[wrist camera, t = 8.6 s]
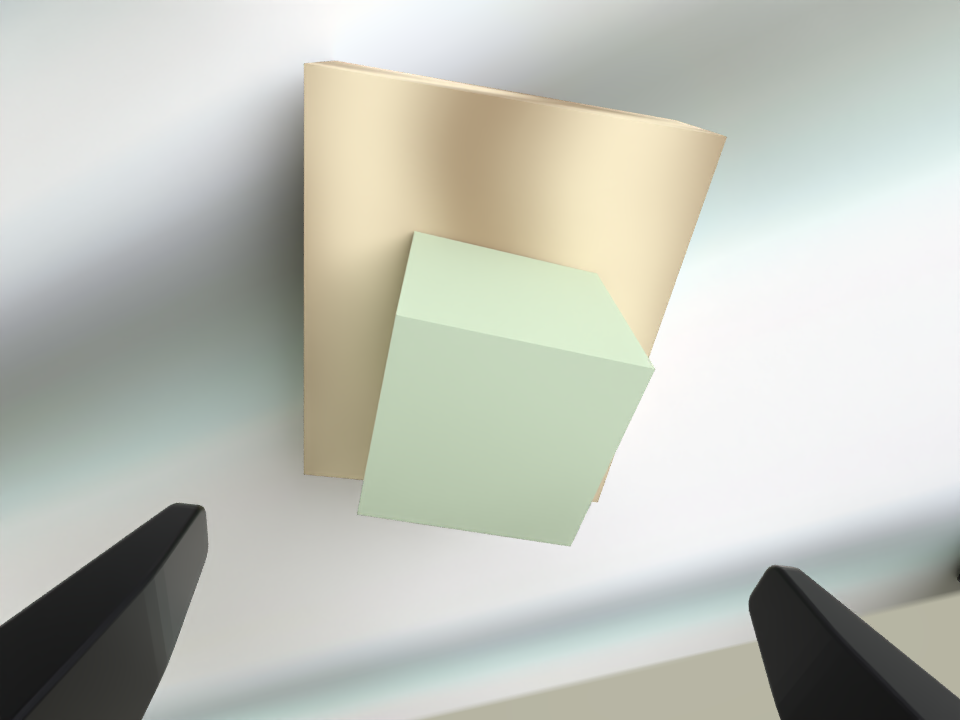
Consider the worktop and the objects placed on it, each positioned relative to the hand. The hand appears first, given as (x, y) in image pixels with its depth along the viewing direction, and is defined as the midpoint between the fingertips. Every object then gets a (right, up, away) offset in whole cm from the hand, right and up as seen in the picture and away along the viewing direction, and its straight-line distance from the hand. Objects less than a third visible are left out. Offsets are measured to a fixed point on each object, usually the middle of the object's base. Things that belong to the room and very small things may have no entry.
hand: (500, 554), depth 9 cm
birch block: (0, +6, +10) cm, 12 cm away
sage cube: (0, +4, +7) cm, 8 cm away
